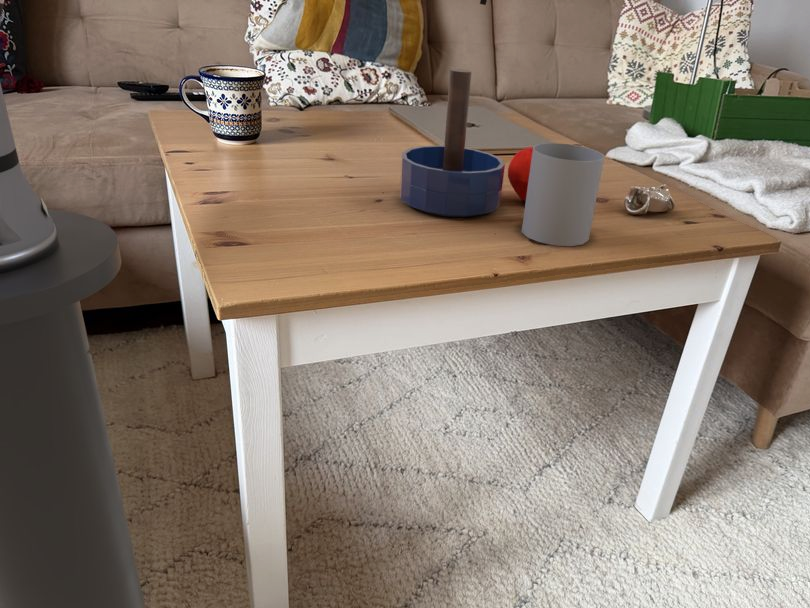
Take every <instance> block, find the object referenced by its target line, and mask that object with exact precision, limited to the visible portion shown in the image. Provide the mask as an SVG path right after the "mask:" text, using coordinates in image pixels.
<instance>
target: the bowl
mask: <svg viewBox="0 0 810 608" xmlns="http://www.w3.org/2000/svg"><path fill="white" fill-rule="evenodd" d="M444 146H445V145H420V146H414V147H411V148H407V149H406V150H404V151H402V152H401V157H400V177H399V178H400V180H399V196H400V201H402V202H403V203H405V204H406V205H407V206H409V207H412V208H415V209H416V210H419V211H421V212H424V213H428V214H431V215H434V216H441V217H450V218H469V217H475V216H481V215H486V214H489V213H491V212H494V211H496V210H497V209H498V208H499V207H500V205H501V201H502V192H503V184H504V177H505V176H504V175H505V169H506V168H505V167H506V164H505V162H504V160H503V159H502V158H501V157H498V156H497V155H494V154H492V153H490V152H487V151H483V150H479V149H476V148H475V149H474V148H468V147H465V150H464V162H463V171H448V170H443V159H444Z"/></svg>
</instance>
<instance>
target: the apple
mask: <svg viewBox="0 0 810 608" xmlns="http://www.w3.org/2000/svg"><path fill="white" fill-rule="evenodd" d="M532 153H533V146H530V147H526V148H523V149H520V150H519V151H518V152H516V153H515V154H514V156H513V157H512V158H511V160H510V162H509V165H508V168H507V178H508V181H509V183H510V185H511V187H512V189H513V191H514V192H515V194H516V195H517V196H518V197H519V199H520V200H522V201H523V202H525V203H526V196H527V188H528V181H529V174H530V167H531V160H532Z"/></svg>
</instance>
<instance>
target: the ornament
mask: <svg viewBox="0 0 810 608" xmlns="http://www.w3.org/2000/svg"><path fill="white" fill-rule="evenodd" d="M666 187H667V185H666V183H664V184H661V185H657V186H651V187H645V186H642V187H641V186H637V185H632V186H631V187H630V188H629V191H628V193H627V194H626V197H625V198H624V203H623V204H624V208H625V210H626V212H627V213H629V214H631V215H635V216H636V215H637V216H639V215H643V214H647V212H652V213H662V212H668V211H672V210H674V209H675V206H676V204H675V201H674V199H673V197H672V196H671V194H670V189H665V188H666ZM638 205H639V206H642V207H640V208H639V207H638Z"/></svg>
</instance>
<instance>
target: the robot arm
mask: <svg viewBox="0 0 810 608" xmlns="http://www.w3.org/2000/svg"><path fill="white" fill-rule="evenodd" d="M487 1H488V0H480V1H479V5H482V6H483V5H484V6H486V5H487ZM4 4H5V0H0V25H1V22H2V18H3V17H2V16H3V11H4V10H3V9H4ZM19 159H20V158H19V155H18V152H17V147H16V143H15V139H14V135H13V130H12V126H11V122H10V118H9V114H8V110H7V105H6V101H5V96H4V93H3V87H2V83H1V82H0V274H3V273H7V272H11V271H14V270H18V269H21V268H24V267H27V266H29V265H32V264H34V263H37V262H39V261H41V260H43V259H44V258H46V257H48V256H49V255H51V254H52V253H53V252H54V251H55V250H56V249H57V247H58V244H59V240H58V236H57V231H56V227H55V224H54V222H53V220H52V218H51V217H50V215H49V214H48V211H47V209H48V207H47V204H46V203H45V202H44V200H43V197H40V198H39V196H38V194H37V193H36V191H35V190H34V188H33V186H32V185H31V184H30V182H29V180H28V179H27V177H26V175H25V174H24V172H23V170H22V167H21V164H20V160H19Z"/></svg>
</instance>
